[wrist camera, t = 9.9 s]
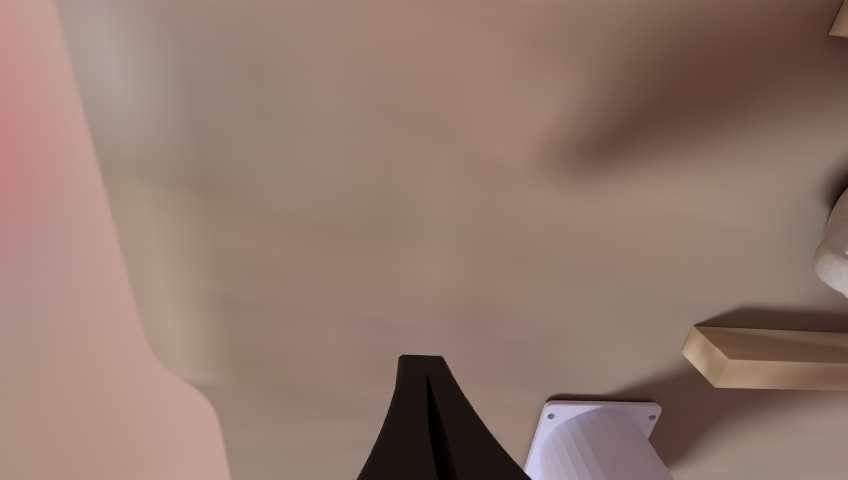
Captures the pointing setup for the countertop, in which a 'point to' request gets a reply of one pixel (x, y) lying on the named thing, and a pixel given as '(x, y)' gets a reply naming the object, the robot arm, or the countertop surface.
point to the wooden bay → (772, 342)
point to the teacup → (834, 248)
